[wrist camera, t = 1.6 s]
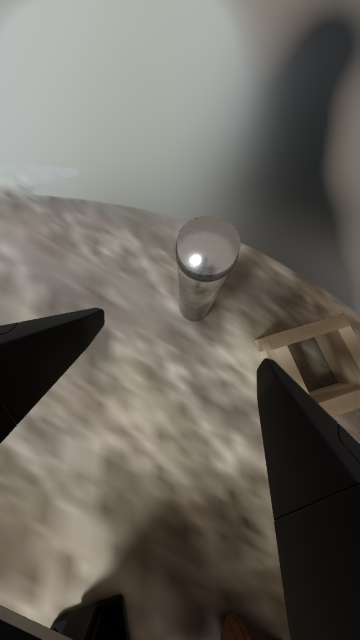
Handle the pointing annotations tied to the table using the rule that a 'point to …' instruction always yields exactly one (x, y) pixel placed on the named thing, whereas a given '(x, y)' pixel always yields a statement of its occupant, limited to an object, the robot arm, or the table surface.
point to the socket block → (339, 351)
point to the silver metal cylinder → (204, 262)
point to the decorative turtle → (236, 628)
